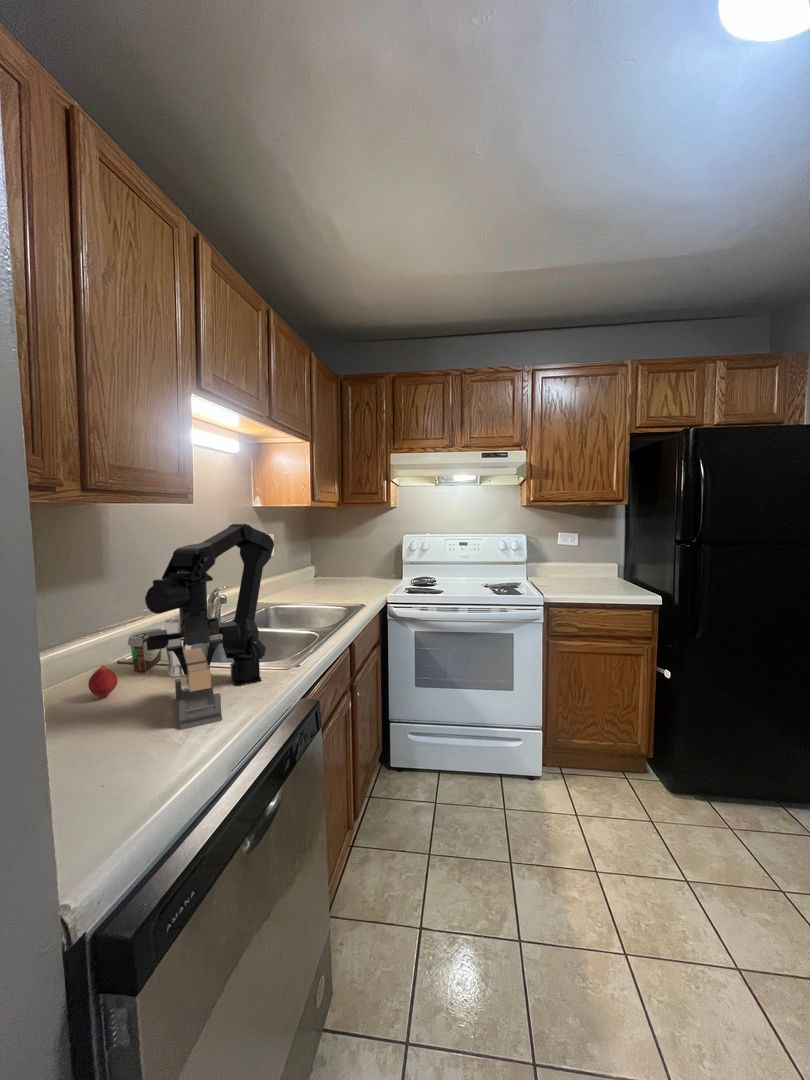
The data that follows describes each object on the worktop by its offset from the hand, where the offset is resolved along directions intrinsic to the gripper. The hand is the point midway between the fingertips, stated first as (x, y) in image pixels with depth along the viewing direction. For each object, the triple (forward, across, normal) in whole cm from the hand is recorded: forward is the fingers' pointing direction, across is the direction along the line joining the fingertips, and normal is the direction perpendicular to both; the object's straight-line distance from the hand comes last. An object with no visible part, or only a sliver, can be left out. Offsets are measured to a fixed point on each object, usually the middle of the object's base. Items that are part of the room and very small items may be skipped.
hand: (196, 672), depth 102 cm
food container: (+9, -11, +39) cm, 41 cm away
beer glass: (+9, -2, +28) cm, 29 cm away
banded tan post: (+1, 0, 0) cm, 1 cm away
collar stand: (+8, 0, 0) cm, 8 cm away
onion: (+9, -19, +19) cm, 28 cm away
